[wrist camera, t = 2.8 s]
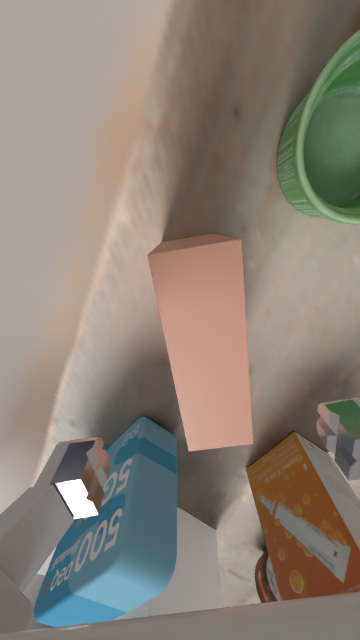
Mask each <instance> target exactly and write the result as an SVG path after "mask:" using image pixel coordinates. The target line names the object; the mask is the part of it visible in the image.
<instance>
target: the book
mask: <svg viewBox="0 0 360 640" xmlns="http://www.w3.org/2000/svg"><path fill="white" fill-rule="evenodd" d="M148 260H149V265H150V270H151V274H152V279H153V284H154V289H155V294H156V298H157V303H158V308H159V313H160V317H161V322H162V327H163V332H164V336H165V341H166V346H167V351H168V356H169V360H170V365H171V370H172V375H173V379H174V384H175V389H176V394H177V399H178V403H179V408H180V413H181V418H182V422H183V427H184V432H185V437H186V441H187V446H188V451H198V450H206V449H214V448H223V447H231V446H239V445H248V444H253V432H252V414H251V396H250V378H249V360H248V343H247V325H246V307H245V289H244V271H243V253H242V239H239V238H234V237H228V236H223V235H218V234H213V233H211V234H205V235H200V236H194V237H188V238H182V239H176V240H171V241H165V242H161V243H160V244H159V245H158V246H157V247H156V248H155V249H154V250H152V251H151V252H150V253H149V254H148Z"/></svg>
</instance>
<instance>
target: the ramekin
mask: <svg viewBox="0 0 360 640" xmlns="http://www.w3.org/2000/svg"><path fill="white" fill-rule="evenodd" d="M277 174H278V180H279V184H280V187H281V189H282V191H283V194H284V195H285V197H286V199H287V200H288V201H289V202H290V203H291V205H292V206H293V207H295V208H296V209H297V210H299V211H301V212H302V213H304V214H306V215H310V216H313V217H319V218H327V219H331V220H334V221H338V222H341V223H347V224H360V30H358V31H357V32H356V33H354V34H353V35H352V36H351V37H350V38H349V39H348V40H347V41H346V42H345V43H343V44H342V45H341V47H340V48H339V49H338V50H337V51H336V52H335V53H334V55H333V56H332V57H331V58H330V60H329V61H328V62H327V64H326V65H325V66H324V68H323V69H322V71H321V72H320V74H319V75H318V77H317V79H316V80H315V82H314V84H313V86H312V87H311V89H310V91H309V92H308V93H307V94H306V96H305V97H304V98H303V99H302V101H301V102H300V103H299V105H298V106H297V107H296V109H295V110H294V112H293V113H292V115H291V117H290V118H289V120H288V122H287V124H286V126H285V128H284V131H283V134H282V137H281V140H280V144H279V148H278V156H277Z"/></svg>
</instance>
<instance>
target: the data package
mask: <svg viewBox="0 0 360 640" xmlns="http://www.w3.org/2000/svg"><path fill="white" fill-rule="evenodd" d="M105 451H107V452H108V454H109V458H110V473H109V477H108V480H107V481H106V483H105V484H104V485H103V486H102V489H103V491H104V496H103V500H102V504H101V507H100V511H99V515H94V516H88V517H82V518H76V519H74V522H73V523H72V524H71V526H70V527H69V529H68V530H67V531H66V533H65V534H64V536H63V537H62V538H61V540H60V541H59V543H58V544H57V547H56V550H55V552H54V555H53V557H52V560H51V563H50V565H49V568H48V571H47V573H46V576H45V578H44V581H43V584H42V587H41V589H40V592H39V594H38V597H37V600H36V604H35V608H34V619H35V620H36V621H37V622H40V623H43V624H47V625H50V626H54V627H61V626H70V625H78V624H87V623H96V622H104V621H113V620H115V619H117V618H119V617H120V616H122V615H124V614H126V613H127V612H129V611H131V610H133V609H134V608H136V607H138V606H140V605H142V604H143V603H145V602H147V601H149V600H150V599H152V598H154V597H156V596H157V595H159V594H161V593H162V592H163V591H164V590H165V589H166V588H167V586H168V584H169V582H170V580H171V578H172V576H173V573H174V569H175V565H176V558H177V438H176V436H175V435H173V434H172V433H170V432H168V431H167V430H165V429H164V428H162V427H161V426H159V425H157V424H156V423H154V422H153V421H151V420H149V419H148V418H146V417H140V418H139V419H138V420H136V421H135V422H134V423H133V424H132V425H131V426H130V427H129V428H128V429H127V430H126V431H125V432H124V433H123V434H122V435H121V436H120V437H119V438H118V439H116V440H115V441H114V442H113V443H112V444H111V445H110V446H109V447H108V448H107V449H106V450H105Z"/></svg>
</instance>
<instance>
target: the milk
mask: <svg viewBox="0 0 360 640" xmlns="http://www.w3.org/2000/svg"><path fill="white" fill-rule="evenodd" d="M215 608H222V601H221V588H220V575H219V562H218V549H217V536H216V530H215V529H213V528H211V527H210V526H208V525H207V524H205V523H203V522H202V521H200V520H198V519H197V518H195V517H193V516H192V515H190V514H188V513H187V512H185V511H184V510H182V509H180V508H179V507H177V558H176V565H175V569H174V573H173V576H172V578H171V580H170V582H169V584H168V586H167V588H166V589H165V590H164V591H163V592H162V593H161V594H159V595H157V596H156V597H154V598H152V599H150V600H149V601H147V602H145V603H143V604H142V605H140V606H138V607H136V608H134V609H133V610H131V611H129V612H127V613H126V614H124V615H122V616H120V617H119V618H117V619H115V620H121V619H130V618H138V617H147V616H155V615H164V614H173V613H181V612H190V611H198V610H207V609H215Z"/></svg>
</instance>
